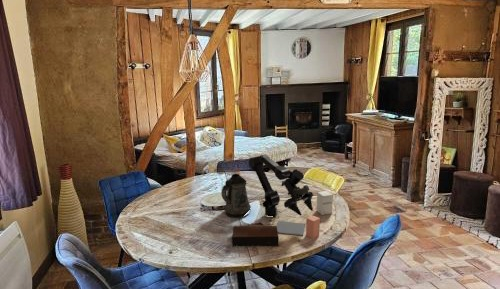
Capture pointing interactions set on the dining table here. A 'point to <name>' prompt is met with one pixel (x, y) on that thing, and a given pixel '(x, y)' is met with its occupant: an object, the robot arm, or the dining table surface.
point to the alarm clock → (255, 236)
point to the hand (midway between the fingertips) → (306, 212)
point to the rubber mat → (290, 228)
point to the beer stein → (235, 197)
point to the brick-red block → (312, 226)
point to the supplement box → (324, 202)
